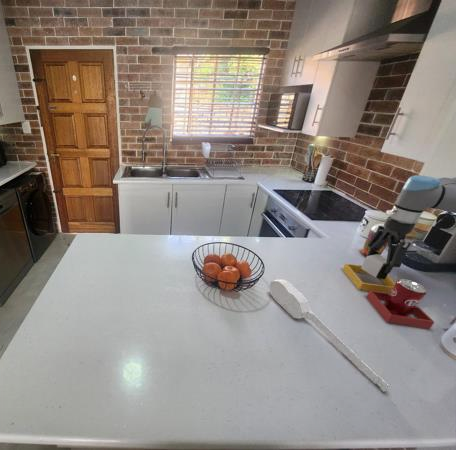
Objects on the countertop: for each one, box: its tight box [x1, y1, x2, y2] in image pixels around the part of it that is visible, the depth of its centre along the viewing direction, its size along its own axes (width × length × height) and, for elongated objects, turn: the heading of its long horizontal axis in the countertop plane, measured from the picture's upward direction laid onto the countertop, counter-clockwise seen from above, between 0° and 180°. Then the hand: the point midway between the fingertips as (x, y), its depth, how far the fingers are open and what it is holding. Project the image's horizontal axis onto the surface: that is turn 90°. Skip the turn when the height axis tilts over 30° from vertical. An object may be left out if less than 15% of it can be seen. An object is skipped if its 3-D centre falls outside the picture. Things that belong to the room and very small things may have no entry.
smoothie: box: [361, 222, 388, 258], centre depth 115 cm, size 8×8×20 cm
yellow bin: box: [342, 263, 396, 293], centre depth 100 cm, size 13×13×4 cm
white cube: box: [361, 254, 387, 278], centre depth 97 cm, size 6×6×6 cm
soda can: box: [382, 278, 427, 317], centre depth 83 cm, size 7×7×12 cm
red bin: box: [365, 291, 435, 330], centre depth 85 cm, size 12×12×4 cm
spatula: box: [268, 279, 390, 392], centre depth 75 cm, size 38×8×4 cm
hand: (373, 271), depth 98 cm, fingers closed on white cube, 8 cm apart
